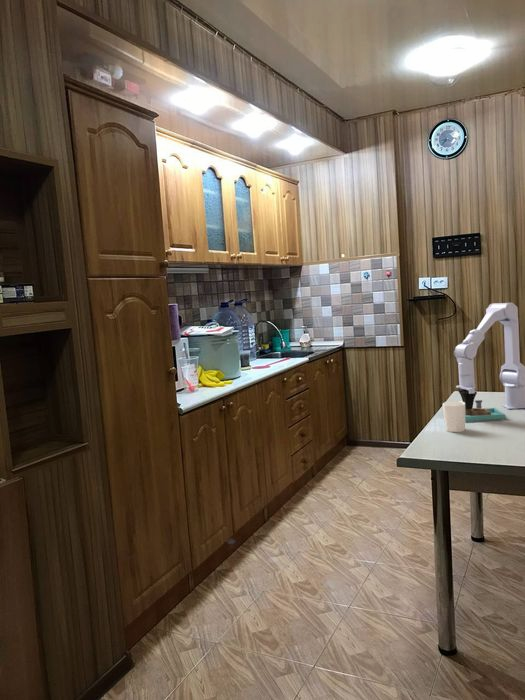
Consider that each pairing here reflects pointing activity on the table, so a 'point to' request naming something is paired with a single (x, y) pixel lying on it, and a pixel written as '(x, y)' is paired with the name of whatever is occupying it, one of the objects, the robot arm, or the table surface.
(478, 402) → the stake
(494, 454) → the table surface
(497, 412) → the tray
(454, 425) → the white cup
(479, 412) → the collar
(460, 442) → the table surface
